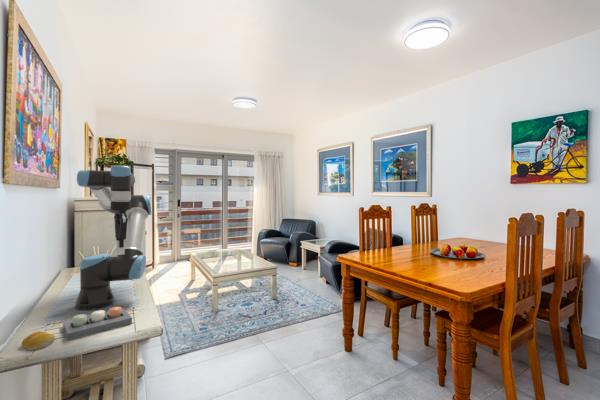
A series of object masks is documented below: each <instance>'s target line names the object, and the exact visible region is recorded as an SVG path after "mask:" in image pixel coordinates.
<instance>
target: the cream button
mask: <svg viewBox="0 0 600 400" xmlns="http://www.w3.org/2000/svg"><path fill="white" fill-rule="evenodd" d="M105 312H106V311H105V310H103V309H100V310H96V311H95V310H94V311H93V312H91V314H90V315H91V324H92V323H96V322H100V321H104V320H105Z"/></svg>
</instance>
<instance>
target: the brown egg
mask: <svg viewBox="0 0 600 400" xmlns="http://www.w3.org/2000/svg"><path fill="white" fill-rule="evenodd" d="M121 308H122V307H121V306H113V307H110V308H109V309H108V311H109V319H112V318H116V317H121Z"/></svg>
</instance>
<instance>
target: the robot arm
mask: <svg viewBox="0 0 600 400" xmlns="http://www.w3.org/2000/svg"><path fill="white" fill-rule="evenodd" d="M76 183H77V185H78V187H81V188H83V187H84V188H89V190H90V191H91V192H92V193H93V194H94V196H95V198H96V199H98V205H100V207H101V208H102V209H103V210H105V211H107V212H108V213H111V214H114V217H113V219H114V232H115V233H114V234H115V241H116V256H111V254H110V253H100V254H99V253H98V254H94V255H89V256H86V257H84V258H82V260H80V268H79V270H80V271H79V273H80V276H79V277H80V278H79V279H80V282H79V285H80V287H79V288H80V290H79V293H78V296H77V298H76V301H75V309H77V310H80V311H81V310H82V311H89V310H90V311H91V310H96V309H102V308H105V307H107V306H110V305H112V304H113V303H114V302H115V295H114V293H113V290H112V287H111V282H117V281H118V282H120V281H134V280H139V279H141V278H142V277H143V275H144V274H145V273H144V272H145V270H146V264H147V257H146V255H144V253H143V252H142V241H143V234H144V227H145V221H146V219H147V218H149V216H151V215H152V204H151V203H152V202H151V197H150V196H149V195H146V194H140V195H139V194H132V190H131V187H133V186H134V185H135V184H136V177H135V175H134V174H133V173H132V172H131V167H130V166H127V165H111V167H110V170H97V169H96V170H94V169H93V170H92V169H87V170H86V169H82V170H81V169H80V170H78V172H77V175H76Z"/></svg>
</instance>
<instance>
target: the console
mask: <svg viewBox="0 0 600 400" xmlns="http://www.w3.org/2000/svg"><path fill="white" fill-rule="evenodd" d="M132 324H133V318H132V316H131V315H130V314H129V313H128V311H126V310H125V308H124V307H121V317H116V318H112V319H109V310H108V311H105V320H104V321H100V322H96V323H92V324H91V314H89V315H87V325H83V326H79V327H75V328H73V318H72V319H66V320H63V321H62V328H63V331H64V335H65V336H66V339H67V341H70V340H74V339H78V338H81V337H85V336H90V335H94V334H96V333H97V334H98V333H101V332H104V331H108V330H113V329H116V328H120V327H123V326H127V325H132Z"/></svg>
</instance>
